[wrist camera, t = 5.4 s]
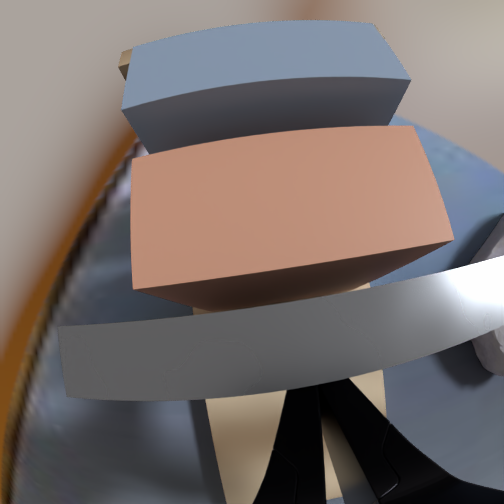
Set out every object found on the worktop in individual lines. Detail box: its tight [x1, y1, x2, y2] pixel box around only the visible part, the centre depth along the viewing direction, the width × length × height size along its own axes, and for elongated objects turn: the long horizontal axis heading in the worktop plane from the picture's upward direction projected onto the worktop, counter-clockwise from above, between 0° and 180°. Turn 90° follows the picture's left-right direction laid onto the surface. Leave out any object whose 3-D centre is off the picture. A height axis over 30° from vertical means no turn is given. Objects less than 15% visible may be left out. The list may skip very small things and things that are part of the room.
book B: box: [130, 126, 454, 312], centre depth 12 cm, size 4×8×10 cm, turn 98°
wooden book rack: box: [118, 25, 386, 504], centre depth 11 cm, size 22×10×11 cm, turn 8°
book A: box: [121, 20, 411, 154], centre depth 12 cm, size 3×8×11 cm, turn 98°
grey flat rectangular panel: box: [58, 256, 504, 401], centre depth 10 cm, size 1×9×12 cm, turn 98°
